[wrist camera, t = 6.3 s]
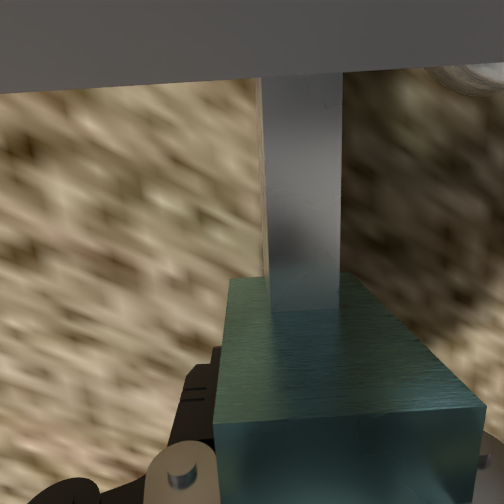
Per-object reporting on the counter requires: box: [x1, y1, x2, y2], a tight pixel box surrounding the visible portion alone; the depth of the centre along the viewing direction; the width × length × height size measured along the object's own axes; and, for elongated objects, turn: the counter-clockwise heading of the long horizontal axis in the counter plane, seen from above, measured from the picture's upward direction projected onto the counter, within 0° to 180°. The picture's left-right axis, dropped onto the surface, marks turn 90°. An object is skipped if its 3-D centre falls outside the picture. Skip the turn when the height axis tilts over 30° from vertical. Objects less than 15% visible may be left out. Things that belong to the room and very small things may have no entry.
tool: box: [213, 72, 487, 504], centre depth 6 cm, size 16×4×6 cm, turn 3°
